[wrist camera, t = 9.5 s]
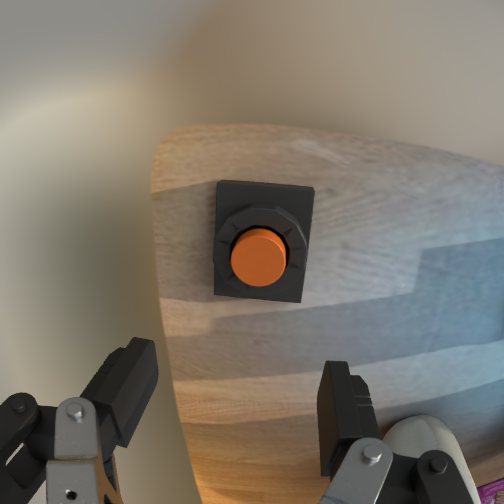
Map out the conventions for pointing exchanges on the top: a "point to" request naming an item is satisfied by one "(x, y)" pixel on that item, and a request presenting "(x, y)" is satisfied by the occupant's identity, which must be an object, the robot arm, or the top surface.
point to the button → (258, 257)
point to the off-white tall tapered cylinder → (429, 443)
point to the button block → (262, 217)
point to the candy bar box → (492, 492)
